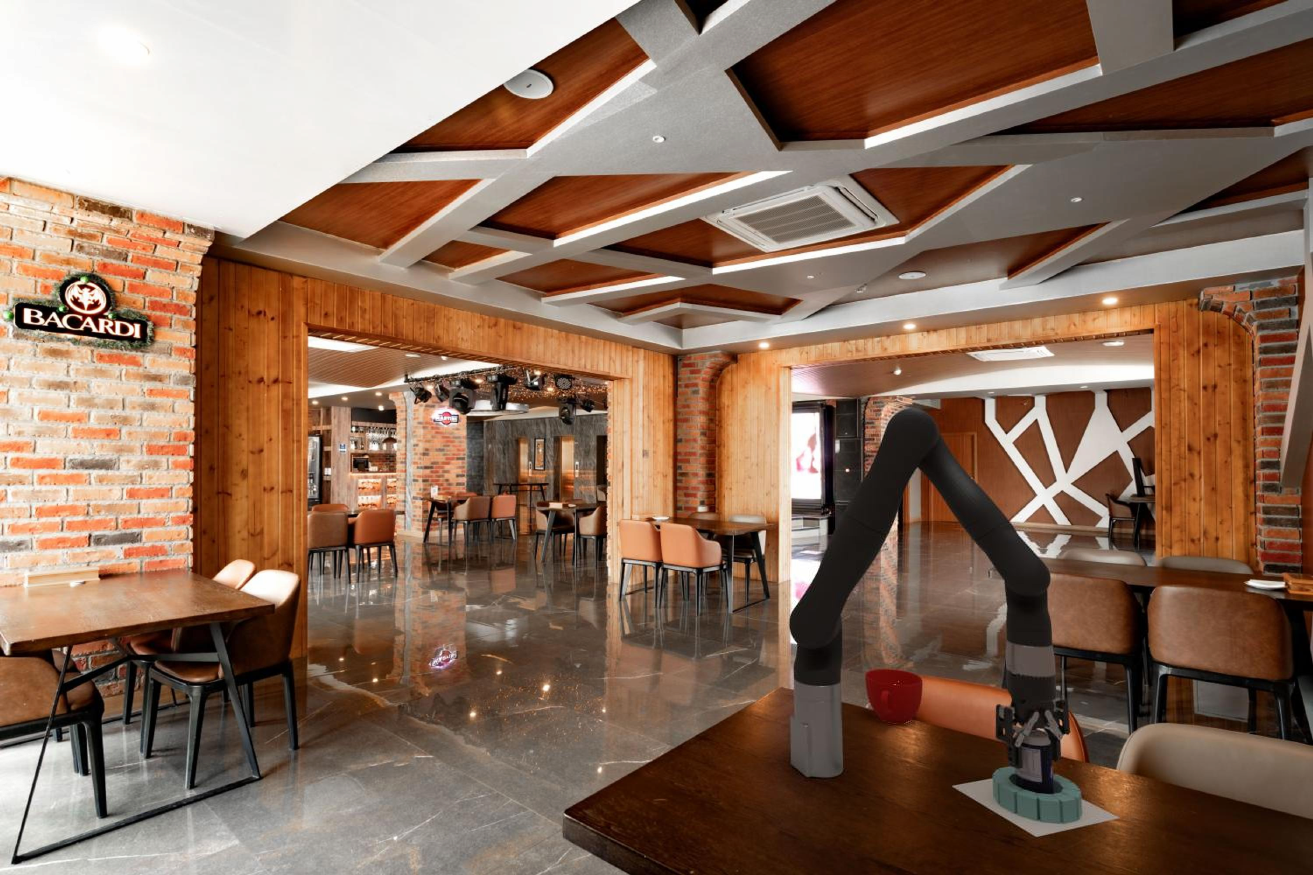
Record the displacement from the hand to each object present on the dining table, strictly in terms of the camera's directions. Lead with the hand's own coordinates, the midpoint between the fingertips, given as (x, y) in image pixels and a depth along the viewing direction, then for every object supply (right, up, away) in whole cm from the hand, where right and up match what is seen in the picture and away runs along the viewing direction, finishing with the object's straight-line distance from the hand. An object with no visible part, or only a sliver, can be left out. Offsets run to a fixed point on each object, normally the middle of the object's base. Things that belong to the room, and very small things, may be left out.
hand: (1034, 763), depth 113 cm
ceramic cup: (-10, -11, +40) cm, 43 cm away
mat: (0, -8, 0) cm, 8 cm away
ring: (0, -7, 0) cm, 7 cm away
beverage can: (0, -7, 0) cm, 7 cm away
